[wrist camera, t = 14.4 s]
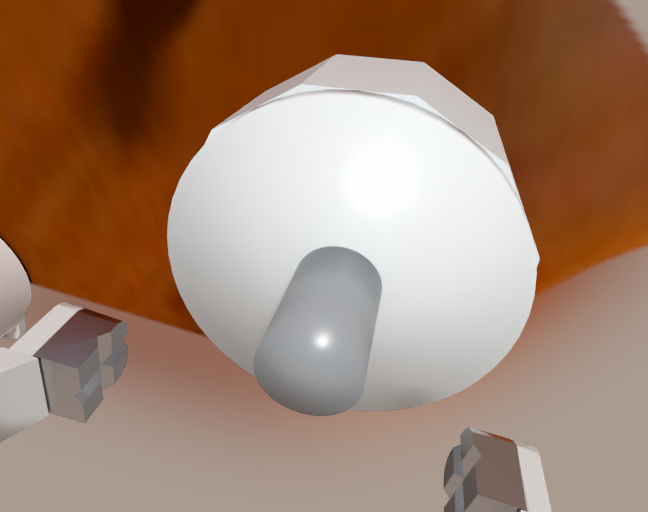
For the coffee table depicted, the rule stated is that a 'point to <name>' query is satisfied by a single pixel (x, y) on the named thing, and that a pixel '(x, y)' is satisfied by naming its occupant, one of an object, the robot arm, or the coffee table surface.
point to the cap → (355, 239)
